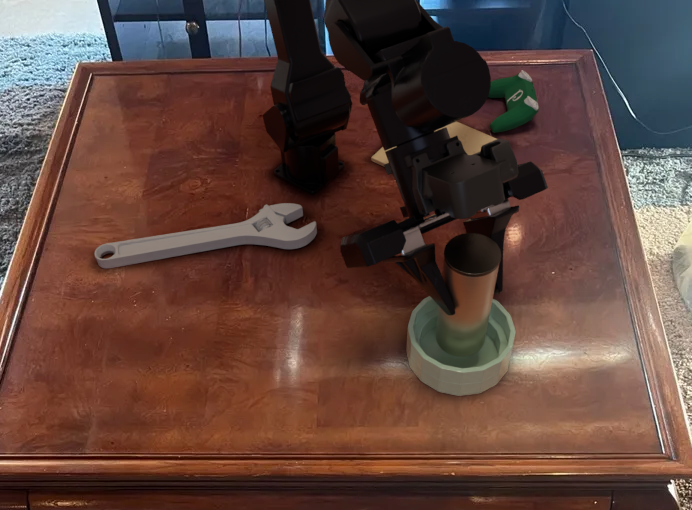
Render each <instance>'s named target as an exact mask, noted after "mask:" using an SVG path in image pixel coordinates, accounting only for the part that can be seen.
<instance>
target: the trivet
mask: <svg viewBox="0 0 692 510" xmlns="http://www.w3.org/2000/svg"><path fill="white" fill-rule="evenodd" d="M445 127H447V130H448V133H449V136H450V138H452V137H454V136H458V139H459V140H460V141H461V143H462V145H463V148H464V150H465V152H466V153H467V154H468V155H473V154H475V153H478V152H481V147H482V146H483V145H485V144H487V143H489V142H492V141H494V140H497V139H498V138H496V137H495V136H492V135H489V134H487V133H485V132H482V131H480V130H478V129H475V128H473V127H471V126H468V125H466V124H464V123H461V122H459V121H456V122H454V123H452V124H449V125H447V126H445ZM445 127H443V128H445ZM443 128H440V129H443ZM440 129H438V130H440ZM436 131H437V130H436ZM434 132H435V131H434ZM393 148H395V147H393ZM393 148H391V149H393ZM388 150H390V149H388ZM388 150H386V151H388ZM386 151H384V148H383V146H382V147H381V148H380V149H378V151H376V152H375V154H373V155H372V156H371V158H370V161H371V162H373V163H375V164H377V165H379V166H382V167H384V164H387V163H389V162H388V159H387V156H386V154H385V152H386ZM384 168H385V167H384Z"/></svg>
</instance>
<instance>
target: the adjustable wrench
mask: <svg viewBox="0 0 692 510" xmlns="http://www.w3.org/2000/svg"><path fill="white" fill-rule="evenodd" d="M302 217H304V211H303V206H302V205H301V204H298V203H291V202H282V203H281V202H280V203H275V204H271V205H268V204H267V203H266V204H264V205H263V207H262V208H260V209H259V210H258V212H257V213H256V214H255V215H253V216H252V217H250V218H249V219H246V220H244V221H240V222H236V223H230V224H229V223H228V224H223V225H222V224H221V225H217V226H211V227H204V228H197V229H190V230H183V231H179V232H178V231H177V232H171V233H165V234H158V235H152V236H144V237H140V238H139V237H138V238H133V239H127V240H120V241H119V240H118V241H114V242H107V243H103V244H100V245H98V246H97V247H96V248H95V250H94V258H95V260H96V262H97V265H98V266H99V267H100V268H102V269H113V268H119V267H124V266H131V265H137V264H140V263H147V262H152V261H153V262H154V261H158V260H164V259H169V258H173V257H180V256H185V255H191V254H196V253H202V252H207V251H213V250H219V249H225V248H229V247H235V246H242V245H255V246H256V245H258V246H265V247H266V246H268V247H271V248H278V249H282V250H297V249H300V248H304V247H305V246H307V245H309V244H310V243H311V242H312V241H313V240H314V239H315V238H316V236H317V234H318V229H317V228H318V227H317V222H316V221H315V220H314V221H312V222H310V223H308V224H306V225H304V226H302V227H300V228H294V227H292V226H288V224H290V223H291V222H294V221H296V220H298V219H300V218H302ZM107 254H113V255H112V256H110V257H107V258H103V256H105V255H107Z"/></svg>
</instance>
